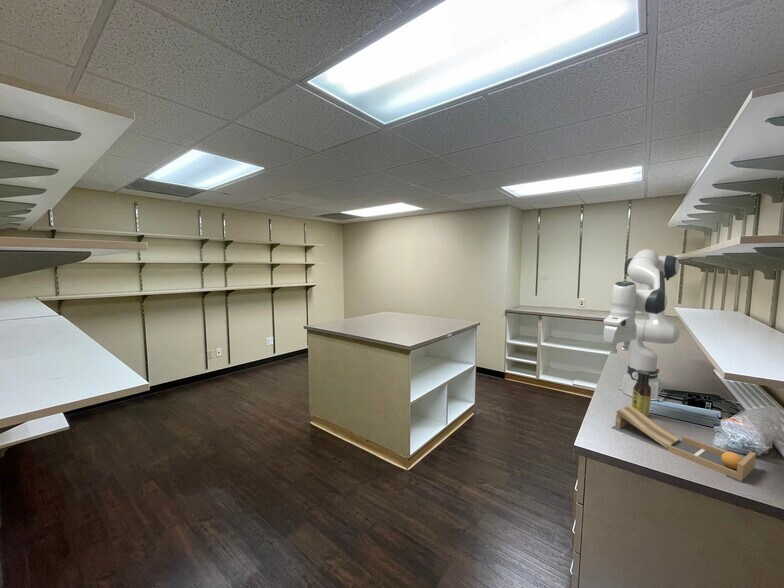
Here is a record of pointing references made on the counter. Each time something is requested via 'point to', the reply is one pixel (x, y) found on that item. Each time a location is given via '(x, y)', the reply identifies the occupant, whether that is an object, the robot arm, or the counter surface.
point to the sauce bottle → (642, 393)
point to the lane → (699, 454)
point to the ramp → (644, 425)
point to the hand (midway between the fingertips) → (619, 351)
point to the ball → (730, 459)
